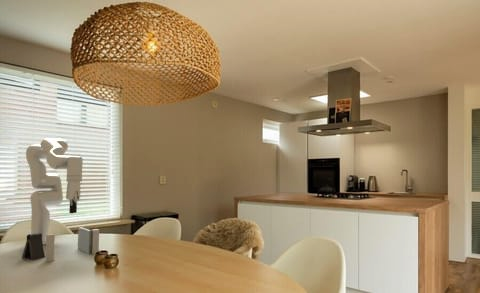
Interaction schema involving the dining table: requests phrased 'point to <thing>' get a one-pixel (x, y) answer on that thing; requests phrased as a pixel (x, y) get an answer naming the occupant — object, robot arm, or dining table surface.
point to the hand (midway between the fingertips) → (72, 212)
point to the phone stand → (33, 247)
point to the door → (84, 240)
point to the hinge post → (95, 241)
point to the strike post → (50, 247)
